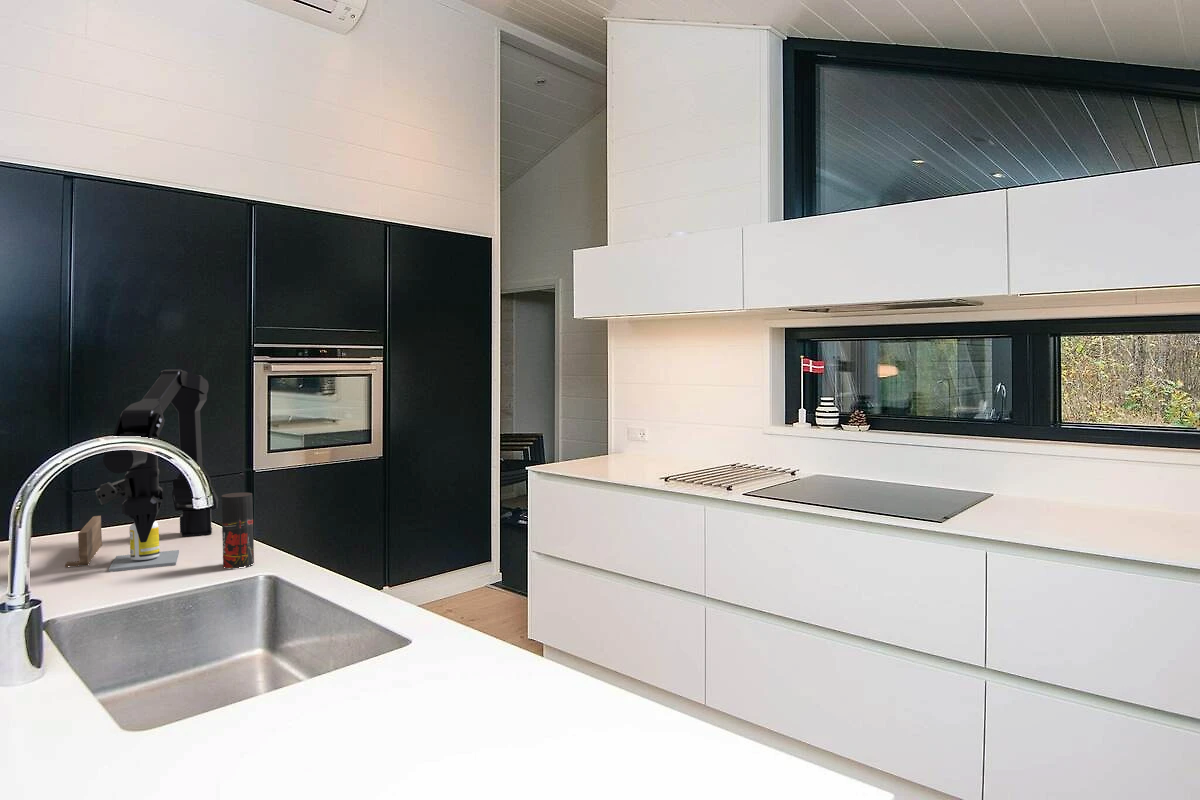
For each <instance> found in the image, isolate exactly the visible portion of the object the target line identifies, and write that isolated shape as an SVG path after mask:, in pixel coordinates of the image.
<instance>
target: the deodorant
mask: <svg viewBox="0 0 1200 800" xmlns="http://www.w3.org/2000/svg"><path fill="white" fill-rule="evenodd" d="M220 499H221V530H222V531H221V534H222V535H221V536H222V537H221V538H222V566H223V567H222V568H224V567H225V568H224V569H226V568H239V567H244V566H249V565H251V564H253V563H254V564H255V552H254V551H255V546H254V545H255V544H254V510H253V509H254V508H253V505H254V504H253V493H252V492H231V493H229V492H228V493H224V494H222V495H221V498H220Z"/></svg>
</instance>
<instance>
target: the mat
mask: <svg viewBox="0 0 1200 800" xmlns="http://www.w3.org/2000/svg"><path fill="white" fill-rule="evenodd" d="M159 552H160V553H159V556H158V557H156V558H153V559H147V560H131V557H130V554H123V555H122V554H121V555H116V556H115V558H114V559H113V561H112V563H111V565H110V566H109V568H108V572H109V573H111V572H110V571H113V572H121V571H122V570H123V571H130V570H131V571H132V570H140V569H141V570H142V569H152V568H160V567H169V566H170V567H172V566H176V565H177V562H178V558H179V555H180V549H175V550H163V551H159ZM120 570H121V571H120Z"/></svg>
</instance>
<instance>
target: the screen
mask: <svg viewBox="0 0 1200 800" xmlns="http://www.w3.org/2000/svg"><path fill="white" fill-rule="evenodd" d="M102 534H103V533H102V515H94V516H92V517H91V518H90V519H89V521H88V522H86V523H85V525H84V526H83V527H82V529H80V531H79V532H78V533H77V538H78V539H77V540H78V543H77V544H78V560H71V561H66V562H65V564H64V568H65V567H66V568H69V567H68V566H76V567H79V566H78V565H87V566H89V565H90V563H91V561H92V560H93V559H92V558H94V557H95V556H96V554H97V553H98V552H99V550H100V549H101V547H102V546H103V541H102V539H103V538H102V537H103V536H102ZM99 548H100V549H99ZM96 552H97V553H96ZM94 555H95V556H94ZM91 559H92V560H91ZM89 562H90V563H89ZM88 564H89V565H88Z"/></svg>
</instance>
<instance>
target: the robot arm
mask: <svg viewBox="0 0 1200 800" xmlns="http://www.w3.org/2000/svg"><path fill="white" fill-rule="evenodd" d="M209 387H210V386H209V381H208V379H206V378H205V377H204V376H202V375H200V374H195V373H190V372H187V371H186V370H182V369H164V370H160V371H159V373H158V378H157V379H156V381H155V382H154V384H153V385H152V386H151V387H150V389H149V390H148V391H147V393H146V394H145V395H144V396H143V398H142V399H141V400H139V401H136V402H133V403H130V404H129V405H128V406H127V407H125V409H124V410H122V411H121V414H120V415H119V417H118V419H117V422H116V426H115V429H114V432H113V435H112V437H113V436H141V437H148V438H154V439H158V440H160V441H161V439H160V438H159V436H160V434H161V432H162V430H163V427H164V425H165V422H166V420H165V418H164V417H165V416H164V412H165V411H166V410H167V408H168V407H169V405H170V404H171V405H172V406H173V408H175V410H176V412H177V416H178V419H177V420H178V434H179V436H178V439H179V440H178V441H179V450H180V449H181V450H182V451H184V452H185V453H187V454H188V455H189V456H190V457H192V458H193V459H194V460H195V461H196V462H197V463H198V464H199V466H200V467H201V468H202V470H203V471H204V473H205V475H206V476H207V478H208V480H209V483H210V487H211V490H212V494H213V498H214V506H213V507H212V508H210V509H206V510H195V509H193V507H192V497H191V493H190V489H189V486H188V484H187V482H186V480H185V478H184V477H183V476H182V474H181V473H180V472H179V473H178V475H177V476H176V478H174V479H173V480H172V493H171V494H172V495H171V496H172V502H173V506H174V511H175V512H179V511H181V515H180V516H179V532H180V533H179V534H181V537H194V536H202V535H205V536H206V535H212V533H213V527H212V510H216V509H218V505H219V497H218V495H217V492H216V491H215V489H214V487H213V486H212V481H211V477H210V475H208V473H207V471H206V470H205V469H204V467H203V448H202V447H203V446H202V427H201V426H202V425H201V409H202V408H203V406H204V404H206V402H207V400H208V393H209ZM102 460H103V464H104V468H106V469H107V470H108V471H109V472H111V473H113V474H123V473H125V474H124V476H123V477H124V478H122V479H120V480H117V481H114V482H112V483H111V482H110V481H108V482H107V483H104V484H100V485H99V487H98V488H97V489H96V490H95V494H96V499H97V500H98V501H99V503H100V505H107V504H108V503H110V502H111V501H115V500H116V499H119V498H122V497H123V496H124V499H125V500H124V501H123V502H122V503H121V514H122V515H123V514H124V515H125V516H127V517H128V518H130V519H132V521H133V523H135V526H136V529H137V533H138V536H139V539H140V542H146V541H147V539H148V536H149V534H150V531H151V528H152V526H153V523H154V522H156V519H157V516H158V515H159V512H160V509H161V506H162V505H163V499H164V497H165V496H164V494H165V493H164V488H162V487H161V486H160V483H159V482H160V481H159V480H160V479H159V475H160V469H159V455H158V456H156V455H153V454H149V453H146V452H140V451H114V452H107V453H105V452H104V455H103V456H102Z"/></svg>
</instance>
